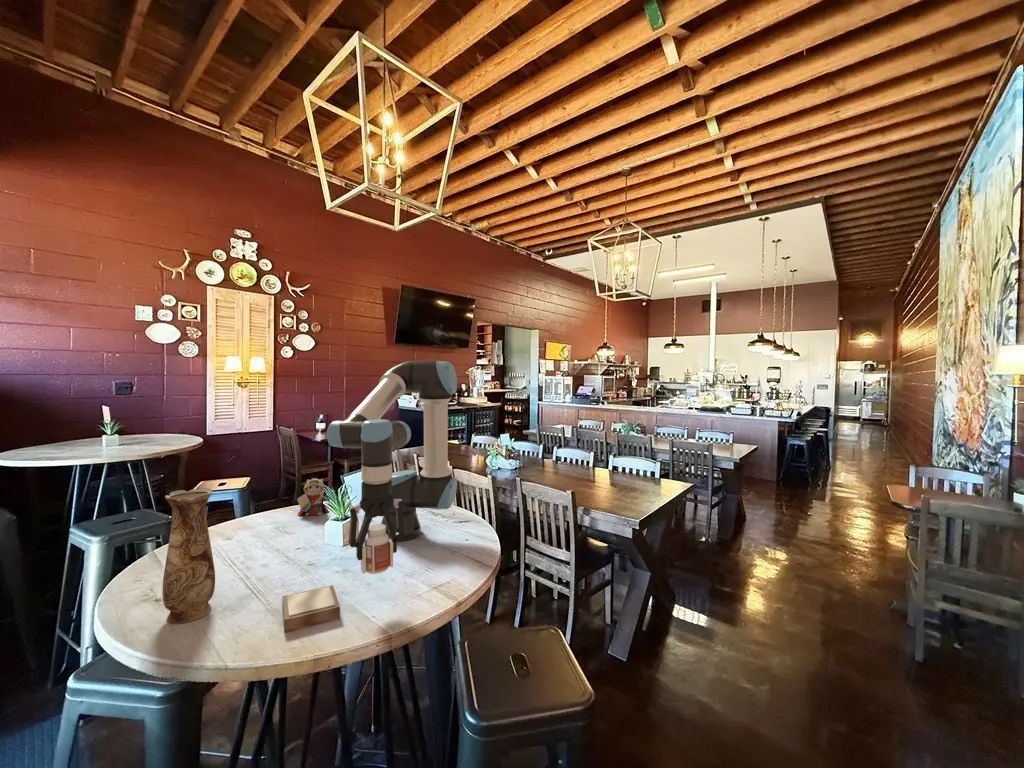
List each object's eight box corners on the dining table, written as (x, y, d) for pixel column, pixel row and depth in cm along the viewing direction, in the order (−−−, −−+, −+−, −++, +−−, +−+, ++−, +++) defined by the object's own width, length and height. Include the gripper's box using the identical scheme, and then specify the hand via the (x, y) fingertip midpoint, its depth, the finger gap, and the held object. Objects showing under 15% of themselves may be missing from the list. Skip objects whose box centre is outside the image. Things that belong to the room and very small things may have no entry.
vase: (161, 630, 99) (160, 501, 99) (164, 609, 108) (163, 490, 107) (215, 616, 105) (215, 494, 105) (214, 597, 114) (214, 485, 113)
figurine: (291, 518, 175) (291, 482, 175) (302, 509, 187) (302, 475, 186) (324, 518, 177) (324, 482, 176) (333, 509, 188) (333, 475, 188)
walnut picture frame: (332, 596, 116) (333, 584, 116) (339, 618, 105) (339, 605, 105) (282, 607, 110) (282, 594, 110) (284, 632, 99) (284, 618, 99)
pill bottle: (391, 563, 115) (391, 522, 115) (386, 574, 109) (386, 531, 109) (368, 563, 115) (368, 522, 114) (361, 574, 109) (361, 531, 108)
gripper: (409, 472, 119) (409, 554, 120) (334, 481, 109) (335, 570, 110) (417, 479, 112) (417, 565, 113) (339, 489, 103) (340, 583, 104)
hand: (377, 567), depth 112 cm, fingers closed on pill bottle, 6 cm apart
